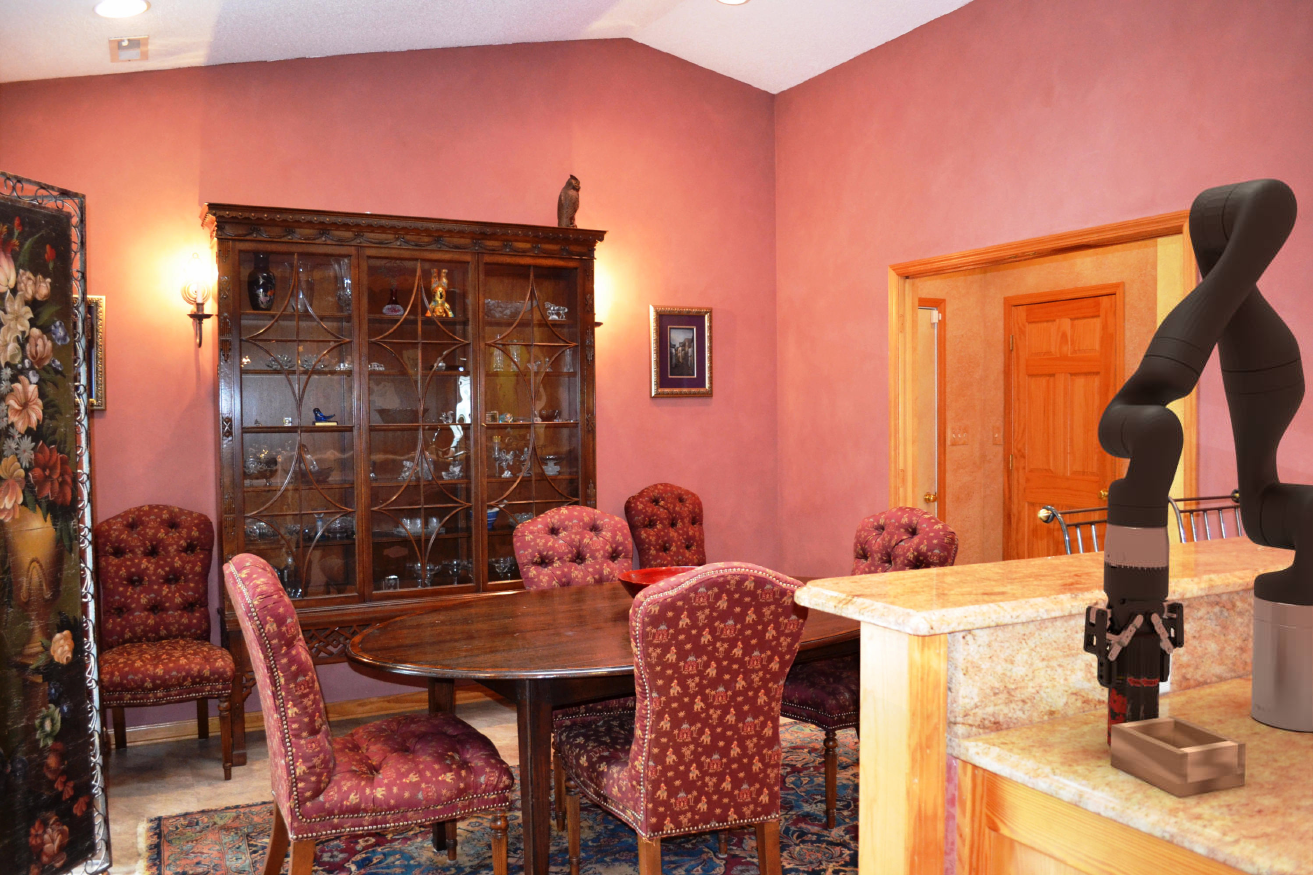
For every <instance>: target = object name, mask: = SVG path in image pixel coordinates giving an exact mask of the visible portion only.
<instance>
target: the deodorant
mask: <svg viewBox="0 0 1313 875" xmlns="http://www.w3.org/2000/svg"><path fill="white" fill-rule="evenodd" d="M1111 634H1112V635H1116V636H1119V635H1120V634H1117V633H1116V632H1115V631H1114V632H1111ZM1111 645H1112V643H1111V644H1109V646H1108V649H1109V648H1110V646H1111ZM1114 660H1116V661H1117V681H1116V688H1114V689H1108V688H1107V730H1106V732H1107V735H1106V736H1107V737H1106V740H1107V741H1106V743H1107V745H1108V746H1109V747H1110V748H1111V725H1115V724H1122V723H1129V722H1136V721H1142V720H1149V719H1156V718H1160V685H1161V684H1160V683H1161V682H1160V634H1156V633H1155V632H1154V633H1151V634H1142V635H1133V636H1132V637H1131V639H1130V641H1129V642H1128V644H1127V645H1126V646H1125V647H1122V648H1121V650H1120V651H1119V653H1118V655H1117V657H1116V658H1115V659H1114Z"/></svg>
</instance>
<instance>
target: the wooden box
mask: <svg viewBox="0 0 1313 875" xmlns="http://www.w3.org/2000/svg"><path fill="white" fill-rule="evenodd" d="M1246 748H1247V747H1246V742H1244V741H1241V740H1238V739H1237V738H1234V737H1231V736H1229V735H1225V734H1222V733H1221V732H1218V731H1215V730H1212V729H1210V728H1207V727H1204V726H1202V725H1198V724H1196V723H1194V722H1191V721H1188V720H1186V719H1183V718H1181V717H1178V716H1175V715H1169V716H1164V717H1159V718H1156V719H1149V720H1142V721H1136V722H1129V723H1122V724H1115V725H1111V747H1110V766H1112V767H1114V768H1116V769H1119V770H1121V771H1123V772H1125V773H1127V774H1129V775H1131V776H1133V777H1135V778H1137V779H1140V780H1142V781H1144V782H1146V783H1148V784H1150V785H1153V786H1154V787H1156V788H1158V789H1160V790H1163V791H1165V792H1167V793H1169V794H1171V795H1173V796H1175V797H1178V798H1181V797H1188V796H1194V795H1198V794H1205V793H1209V792H1210V793H1211V792H1215V791H1221V790H1227V789H1230V788H1231V789H1232V788H1237V787H1242V786H1245V785H1246V780H1245V779H1246Z"/></svg>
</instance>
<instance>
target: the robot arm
mask: <svg viewBox="0 0 1313 875" xmlns="http://www.w3.org/2000/svg"><path fill="white" fill-rule="evenodd" d="M1191 203H1192V204H1191V206H1190V210H1189V213H1188V214H1189V215H1188V233H1189V238H1190V241H1191V243H1190V244H1191V247H1192V250H1193V254H1194V257H1195V260H1196V264H1197V266H1198V270H1199V274H1200V275H1201V276H1200V277H1201V282H1200V283H1199V284H1198V285H1196V286H1195V287H1194V288H1193V290H1191V291H1190V292H1189V293H1188V294H1187V295H1186V296H1185V297H1184V298H1183V299H1182V300H1181V301H1180V302H1179V303H1178V304H1177V305H1175V306H1174V308H1172V310H1170V312H1169V313H1168V314H1167V315H1166V316H1165V318H1164V319H1163V320H1162V322H1161V323H1160V324H1159V325H1158V328H1157V329H1156V330H1155V333H1154V334H1153V337H1152V339H1151V340H1150V342H1149V345H1148V347H1147V348H1146V351H1145V352H1144V354H1143V356H1142V359H1141V361H1140V364H1139V365H1138V368H1137V369H1136V370H1135V372H1134V373H1132V375H1131V376H1130V377H1129V378H1128V379H1127V381H1125V383H1124V384H1123V385H1122V386H1121V388H1119V390H1118V392H1117V393H1116V394H1115V395H1114V397H1113V398H1112V399H1111V400H1110V402H1109V403H1108V405H1107V406H1106V407H1105V409H1104V411H1103V413H1102V415H1101V417H1100V419H1099V422H1098V427H1097V439H1098V442H1099V445H1100V447H1101V448H1102V450H1103V451H1104V452H1105V453H1107V454H1108V455H1110V456H1112V457H1114V458H1117V459H1127V460H1129V462H1128V467H1127V471H1126V474H1125V476H1124V477H1122V478H1118V479H1115V480H1113V481H1112V482H1111V483H1110V484H1109V486H1108V490H1107V503H1106V504H1107V506H1106V507H1107V508H1106V510H1107V511H1106V530H1105V535H1104V541H1103V542H1104V546H1103V552H1104V553H1103V585H1102V586H1103V587H1102V588H1103V592H1104V593H1105V595H1106V597H1107V603H1106V606H1105V607H1096V606H1093V605H1092V606H1091V605H1087V607H1085V608H1086V609H1085V617H1084V619H1085V620H1084V634H1083V646H1082V647H1083V648H1082V649H1083V651H1084V652H1085V653H1088V654H1092V655H1094V656H1095V657H1096V658H1097V661H1096V662H1097V665H1096V667H1097V668H1096V673H1097V674H1096V679H1097V682H1098V684H1099V686H1101V687H1103V688H1105V689H1107V690H1108V689H1114V688H1116V681H1117V661H1116V660H1114V659H1115V658H1116V657H1117V655H1118V653H1119V651H1120V650H1121V648H1122V647H1125V646H1126V645H1127V644H1128V642H1129V641H1130V639H1131V637H1132V636H1133V635H1142V634H1151V633H1154V632H1155V633H1156V634H1160V683H1167V682H1168V680H1169V677H1170V674H1171V670H1170V668H1171V654H1172V653H1173V652H1174V651H1175V650H1176V649H1177V648H1179V649H1183V647H1184V646H1185V620H1184V605H1183V603H1182V602H1178V601H1173V600H1169V599H1167V598H1168V597H1169V594H1170V593H1169V592H1170V591H1169V590H1170V588H1169V587H1170V586H1169V585H1170V550H1171V549H1170V544H1171V543H1170V537H1169V496H1170V495H1169V494H1170V492H1171V488H1172V485H1173V483H1174V480H1175V477H1176V474H1177V470H1178V466H1179V464H1180V460H1181V456H1182V453H1183V449H1184V442H1185V440H1184V439H1185V438H1184V437H1185V436H1184V430H1183V425H1182V423H1181V420H1180V419H1179V417H1178V415H1177V414H1176V413H1175V412H1174V411H1173V410H1172V409H1171V408H1169V407H1167V406H1168V405H1170V404H1171V403H1173V402H1175V401H1179V400H1180V399H1183V398H1186V397H1188V396H1189V395H1190V394H1192V392H1193V390H1194V389H1195V387H1196V386H1197V384H1198V382H1199V380H1200V378H1201V376H1202V373H1203V371H1204V370H1205V368H1206V366H1207V363H1208V362H1209V360H1210V357H1211V355H1212V353H1213V351H1214V349H1215V347H1216V345H1217V350H1218V358H1219V365H1220V373H1221V378H1222V383H1223V388H1224V389H1223V390H1224V393H1225V394H1224V395H1225V398H1226V402H1227V407H1228V412H1229V417H1230V423H1231V430H1232V436H1233V442H1234V449H1235V458H1236V459H1235V460H1236V474H1237V489H1238V504H1239V512H1240V513H1239V514H1240V520H1241V525H1242V528H1243V531H1244V533H1245V535H1246V537H1247V539H1249V540H1250V541H1251V542H1252V544H1255V545H1258V546H1261V547H1265V548H1266V547H1267V548H1273V549H1281V550H1287V551H1295V552H1294V557H1293V562H1292V564H1291V565H1290V566H1288V567H1286V568H1283V569H1281V570H1280V569H1279V570H1277V571H1276V570H1275V571H1269V572H1263V573H1260V574H1258V575H1257V576H1255V577H1254V580H1253V604H1252V606H1253V607H1252V608H1253V611H1252V612H1253V615H1252V620H1253V621H1252V655H1251V656H1252V658H1251V660H1252V661H1251V662H1252V663H1251V665H1252V666H1251V667H1252V668H1251V702H1250V703H1251V704H1250V715H1251V717H1252V718H1253V719H1254V720H1256V721H1258V722H1260V723H1263V724H1265V725H1269V726H1272V727H1275V728H1279V729H1284V730H1290V731H1298V732H1299V731H1300V732H1313V484H1303V483H1301V484H1300V483H1291V482H1290V483H1287V482H1281V481H1280V478H1279V475H1278V469H1277V468H1278V466H1277V454H1278V448H1279V445H1280V442H1281V440H1282V438H1283V436H1284V434H1286V431H1287V429H1288V428H1289V426H1290V424H1291V422H1292V421H1293V419H1294V418H1295V416H1296V414H1297V412H1298V411H1299V408H1300V407H1301V404H1302V402H1303V400H1304V396H1305V394H1306V382H1305V381H1306V380H1305V375H1304V369H1303V368H1304V367H1303V362H1302V356H1301V350H1300V346H1299V343H1298V341H1297V338H1296V337H1295V335H1294V333H1293V332H1292V330H1291V328H1289V326H1288V324H1287V323H1286V322H1285V321H1284V320H1283V318H1282V317H1281V316H1280V315H1279V314H1278V313H1277V311H1276V310H1275V309H1274V308H1273V306H1272V305H1271V304H1270V303H1269V301H1267V299H1266V298H1265V297H1264V295H1263V294H1262V292H1261V290H1260V289H1259V287H1258V286H1257V283H1258V281H1259V280H1260V278H1261V277H1262V276H1263V275H1264V273H1265V271H1267V269H1268V267H1269V266H1270V265H1271V263H1272V262H1273V260H1274V259H1275V258H1276V256H1277V255H1278V254H1279V252H1280V251H1281V249H1282V248H1283V247H1284V245H1285V244H1286V242H1287V240H1288V238H1289V237H1290V235H1291V233H1292V232H1293V229H1294V227H1295V225H1296V221H1297V217H1298V202H1297V197H1296V194H1295V193H1294V191H1293V190H1292V188H1291V187H1290V186H1289V185H1288V184H1287V183H1286V182H1285V181H1282V180H1281V179H1276V178H1261V179H1260V178H1259V179H1258V178H1257V179H1253V180H1248V181H1242V182H1237V183H1231V184H1230V183H1229V184H1224V185H1219V186H1214V187H1210V188H1207V189H1204V190H1203V191H1201V192H1200V193H1199V194H1198V195H1197V196H1196V197H1195V199H1193V201H1192V202H1191ZM1172 630H1173V636H1172ZM1114 631H1115V632H1116V633H1117V634H1120V635H1119V636H1116V635H1112V634H1111V632H1114ZM1094 642H1095V643H1094ZM1111 643H1112V645H1111V646H1110V648H1109V644H1111Z"/></svg>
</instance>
